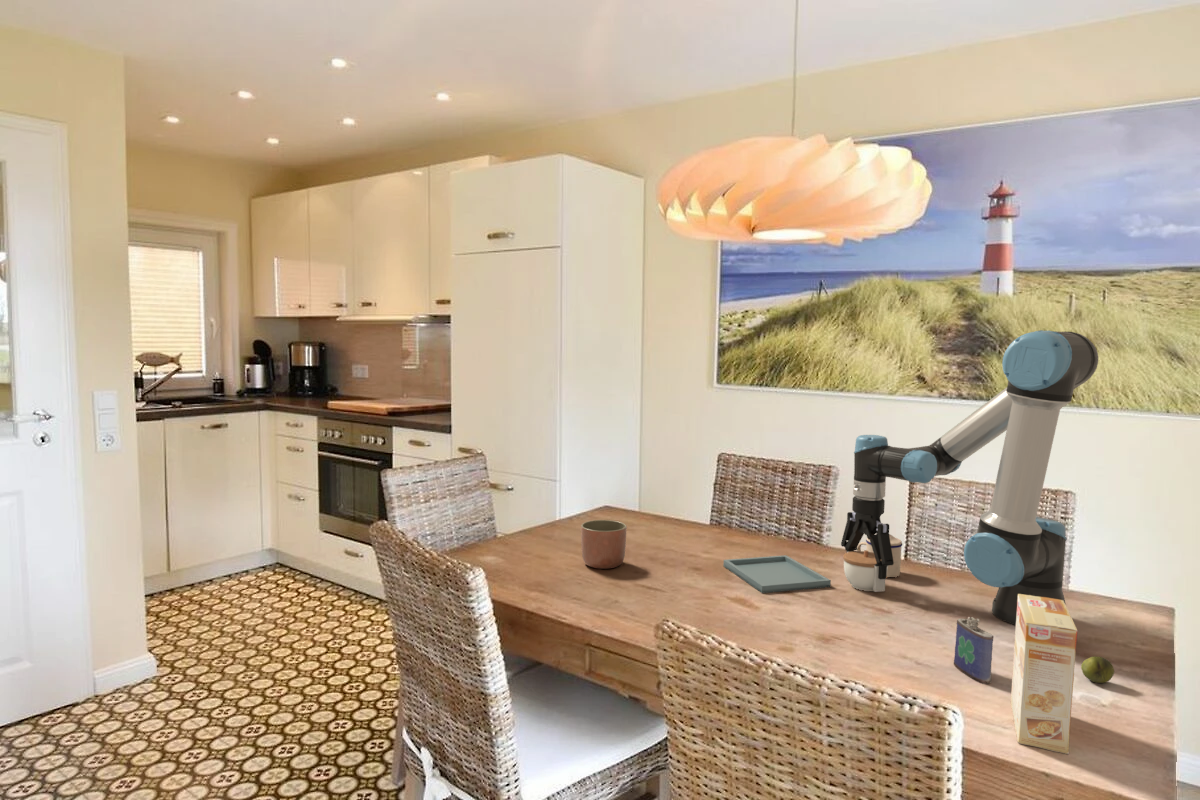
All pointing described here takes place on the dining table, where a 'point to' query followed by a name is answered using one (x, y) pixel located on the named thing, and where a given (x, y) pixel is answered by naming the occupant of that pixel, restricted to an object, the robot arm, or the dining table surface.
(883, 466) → the robot arm
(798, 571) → the tray
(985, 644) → the flask
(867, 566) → the lidded jar
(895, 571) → the teacup with lid
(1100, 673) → the lime
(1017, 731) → the coffeecake box
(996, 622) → the dining table surface
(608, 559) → the planter
